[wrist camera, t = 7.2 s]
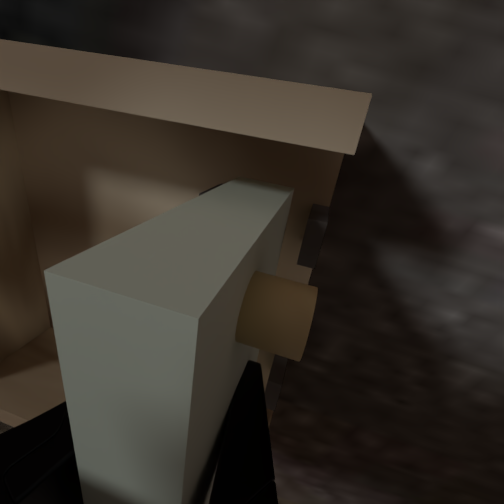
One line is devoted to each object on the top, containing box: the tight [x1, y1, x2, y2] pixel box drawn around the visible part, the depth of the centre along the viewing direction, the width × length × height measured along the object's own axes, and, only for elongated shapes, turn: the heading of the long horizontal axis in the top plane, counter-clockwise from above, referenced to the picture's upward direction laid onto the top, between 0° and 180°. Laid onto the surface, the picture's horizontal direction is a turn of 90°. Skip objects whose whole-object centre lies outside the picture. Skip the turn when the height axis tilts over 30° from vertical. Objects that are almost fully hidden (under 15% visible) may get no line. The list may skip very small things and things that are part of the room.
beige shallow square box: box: [0, 39, 372, 427], centre depth 12 cm, size 15×15×6 cm
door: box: [44, 177, 318, 504], centre depth 8 cm, size 10×3×7 cm, turn 171°
